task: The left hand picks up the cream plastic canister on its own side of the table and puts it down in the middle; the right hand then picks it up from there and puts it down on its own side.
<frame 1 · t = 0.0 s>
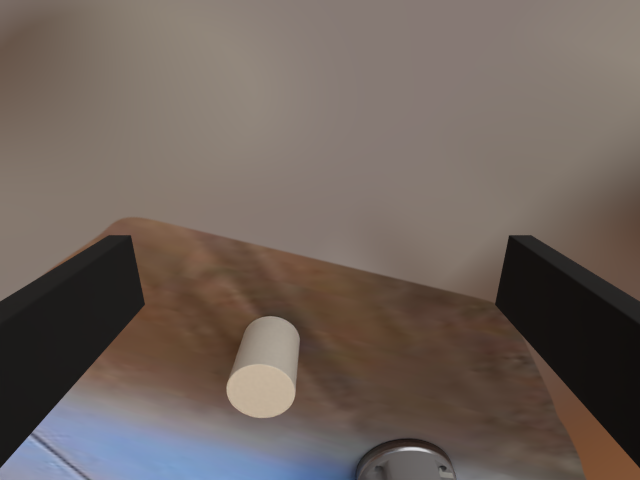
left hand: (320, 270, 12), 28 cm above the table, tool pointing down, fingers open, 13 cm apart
canister: (271, 340, 47), on the table
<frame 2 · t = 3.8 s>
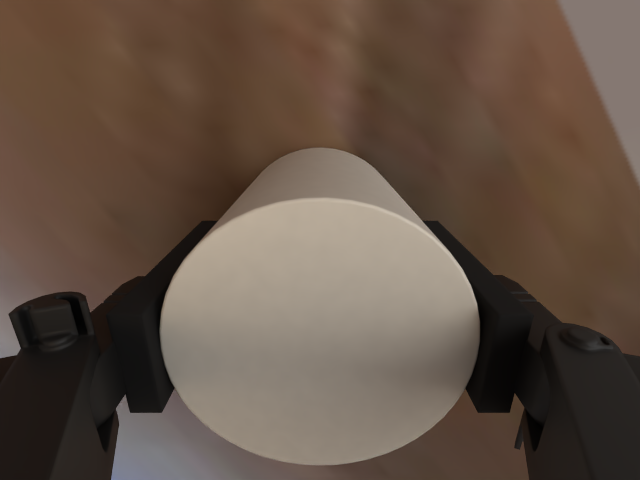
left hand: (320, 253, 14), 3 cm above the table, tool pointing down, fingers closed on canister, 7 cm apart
canister: (319, 227, 17), on the table, touching left hand
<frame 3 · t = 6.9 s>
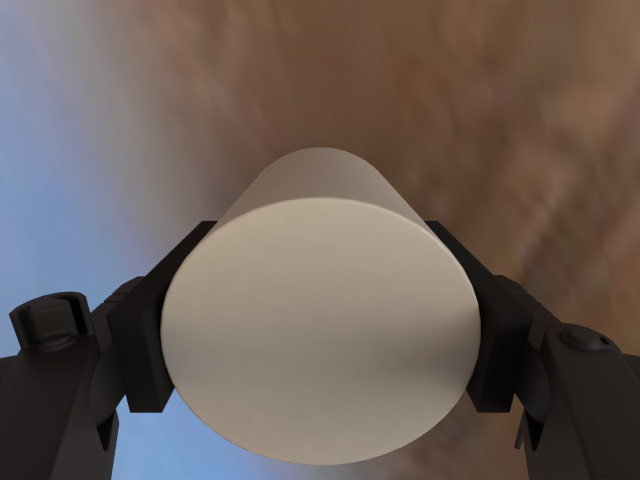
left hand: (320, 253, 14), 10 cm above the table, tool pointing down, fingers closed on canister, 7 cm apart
canister: (320, 227, 17), point 6 cm above the table, touching left hand
when the left hand's fingers open (4 cm above the table, at t = 10.3 s): canister drops 1 cm, on the table.
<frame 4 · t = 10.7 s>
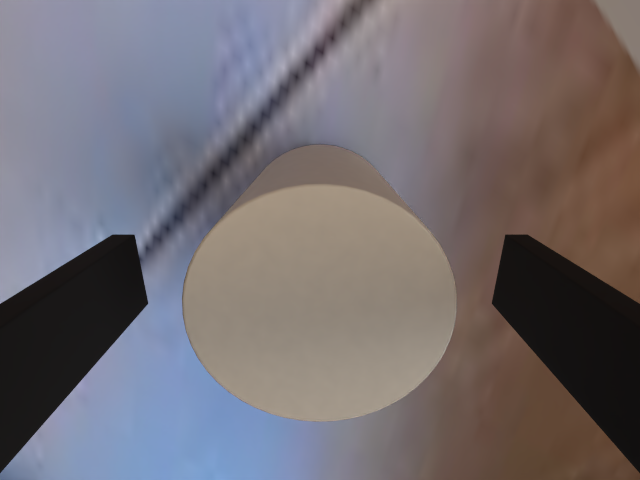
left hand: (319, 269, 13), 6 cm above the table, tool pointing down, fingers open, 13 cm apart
canister: (319, 219, 18), on the table
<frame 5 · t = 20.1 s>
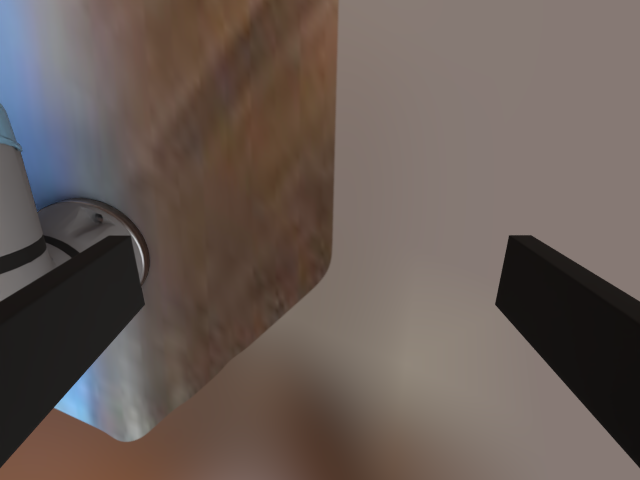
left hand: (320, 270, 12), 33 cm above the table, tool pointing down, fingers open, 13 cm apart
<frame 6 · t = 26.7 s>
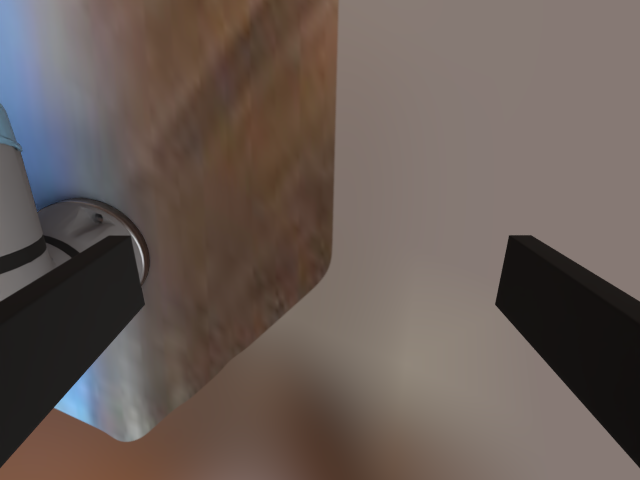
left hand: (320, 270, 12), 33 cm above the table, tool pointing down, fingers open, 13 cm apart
when the right hand's fingers open (4 cm above the table, at t = 33.4 s): canister drops 1 cm, on the table.
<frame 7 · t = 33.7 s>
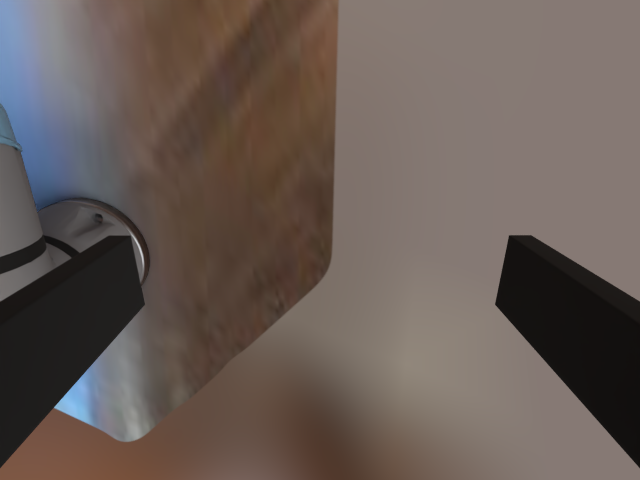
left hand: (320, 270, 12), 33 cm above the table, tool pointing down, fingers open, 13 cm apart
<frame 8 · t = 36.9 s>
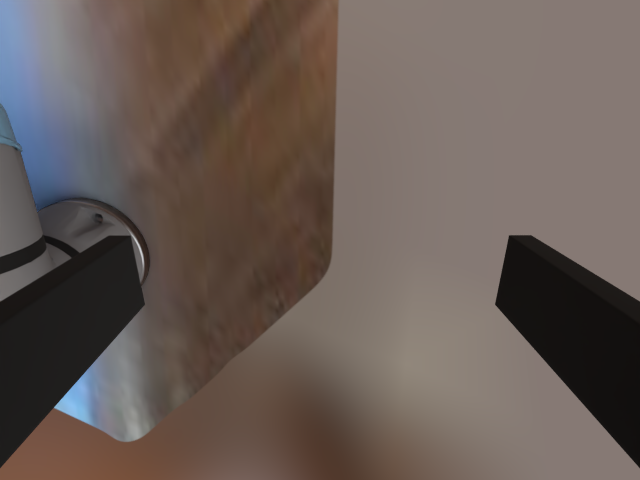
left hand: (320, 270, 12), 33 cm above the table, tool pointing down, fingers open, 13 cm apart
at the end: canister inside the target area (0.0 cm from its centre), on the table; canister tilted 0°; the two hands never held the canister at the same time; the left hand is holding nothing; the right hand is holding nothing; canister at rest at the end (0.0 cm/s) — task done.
